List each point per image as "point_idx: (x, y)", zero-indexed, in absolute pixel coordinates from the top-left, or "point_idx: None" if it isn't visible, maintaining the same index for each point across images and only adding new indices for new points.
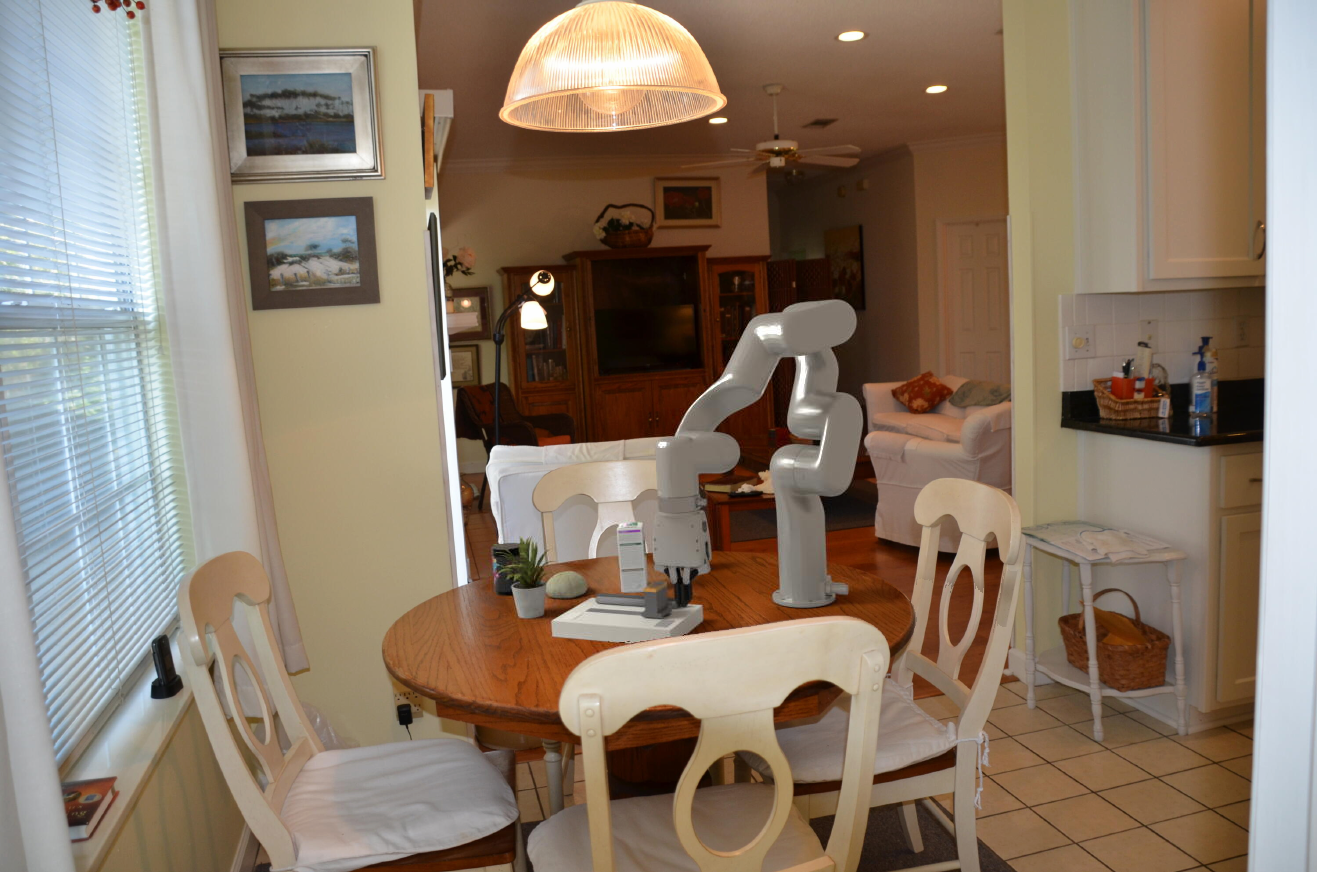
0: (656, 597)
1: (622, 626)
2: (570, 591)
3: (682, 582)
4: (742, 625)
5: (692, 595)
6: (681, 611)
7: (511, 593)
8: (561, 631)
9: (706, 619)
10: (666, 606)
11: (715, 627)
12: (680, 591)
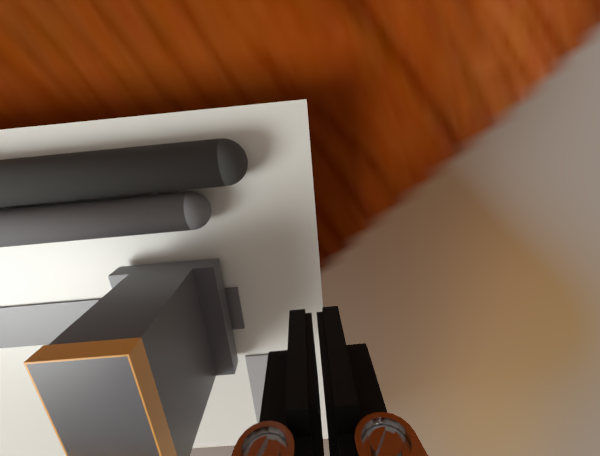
0: (192, 443)
1: None
2: None
3: (319, 449)
4: (493, 112)
5: (366, 348)
6: (257, 233)
7: None
8: None
9: (311, 82)
10: (194, 284)
11: (391, 175)
12: (322, 436)
